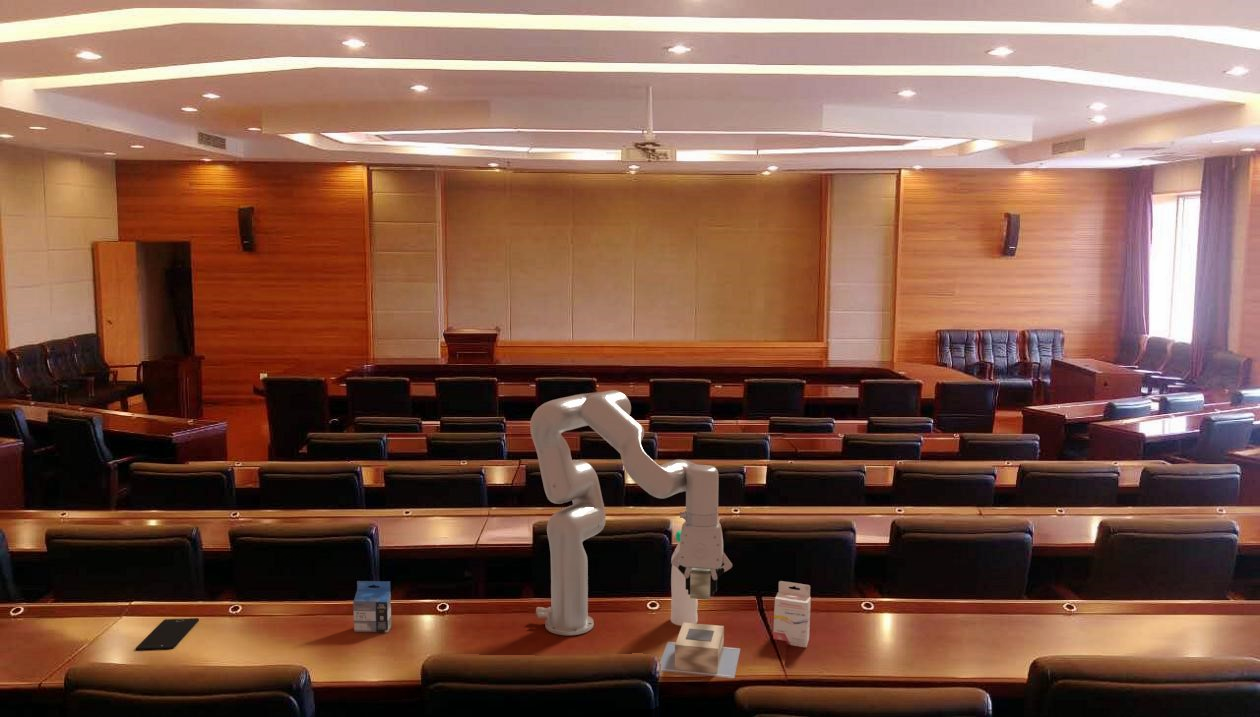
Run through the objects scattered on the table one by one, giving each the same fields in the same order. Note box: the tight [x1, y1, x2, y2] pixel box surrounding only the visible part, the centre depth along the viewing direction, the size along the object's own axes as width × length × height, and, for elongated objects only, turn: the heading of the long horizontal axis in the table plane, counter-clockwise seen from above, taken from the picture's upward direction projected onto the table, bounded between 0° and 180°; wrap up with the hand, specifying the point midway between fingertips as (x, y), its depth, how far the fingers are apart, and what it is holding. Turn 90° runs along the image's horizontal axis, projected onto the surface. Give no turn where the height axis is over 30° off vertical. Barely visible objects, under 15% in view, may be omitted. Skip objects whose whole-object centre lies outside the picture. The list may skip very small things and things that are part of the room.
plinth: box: [675, 622, 725, 673], centre depth 221 cm, size 10×13×6 cm
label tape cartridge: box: [352, 580, 392, 633], centre depth 239 cm, size 9×4×12 cm, turn 90°
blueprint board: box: [659, 641, 741, 679], centre depth 221 cm, size 18×16×1 cm
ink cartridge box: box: [772, 580, 812, 648], centre depth 233 cm, size 9×5×15 cm, turn 71°
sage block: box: [690, 568, 712, 600], centre depth 219 cm, size 5×5×6 cm
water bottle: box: [670, 530, 699, 627], centre depth 242 cm, size 7×7×25 cm
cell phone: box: [135, 617, 200, 652], centre depth 236 cm, size 9×18×1 cm, turn 6°
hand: (701, 592), depth 219 cm, fingers closed on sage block, 4 cm apart
